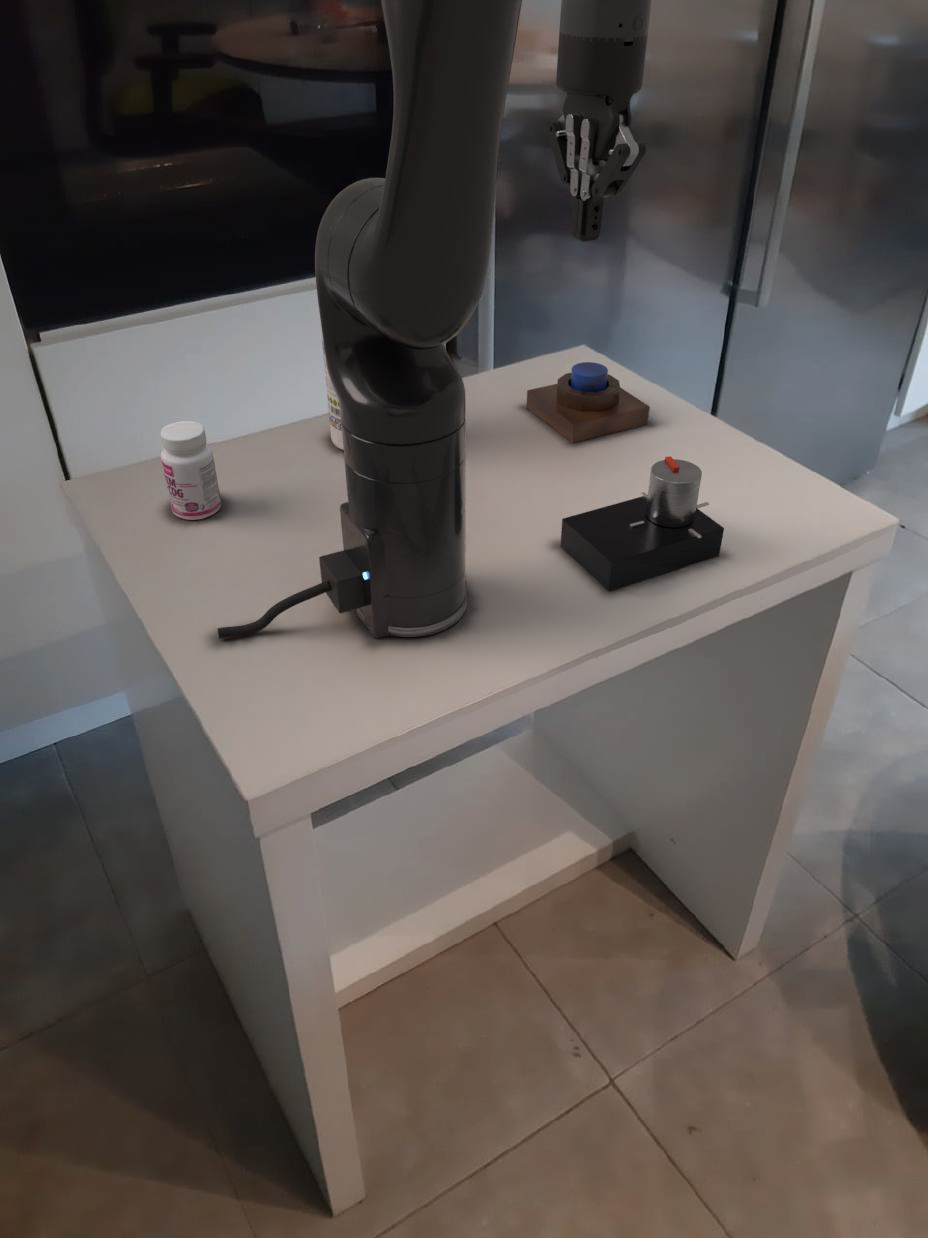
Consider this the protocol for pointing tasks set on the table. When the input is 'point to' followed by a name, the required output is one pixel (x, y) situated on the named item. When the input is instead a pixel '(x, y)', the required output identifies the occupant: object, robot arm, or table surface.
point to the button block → (587, 409)
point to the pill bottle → (189, 471)
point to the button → (589, 377)
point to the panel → (636, 542)
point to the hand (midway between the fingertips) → (585, 238)
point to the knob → (673, 492)
